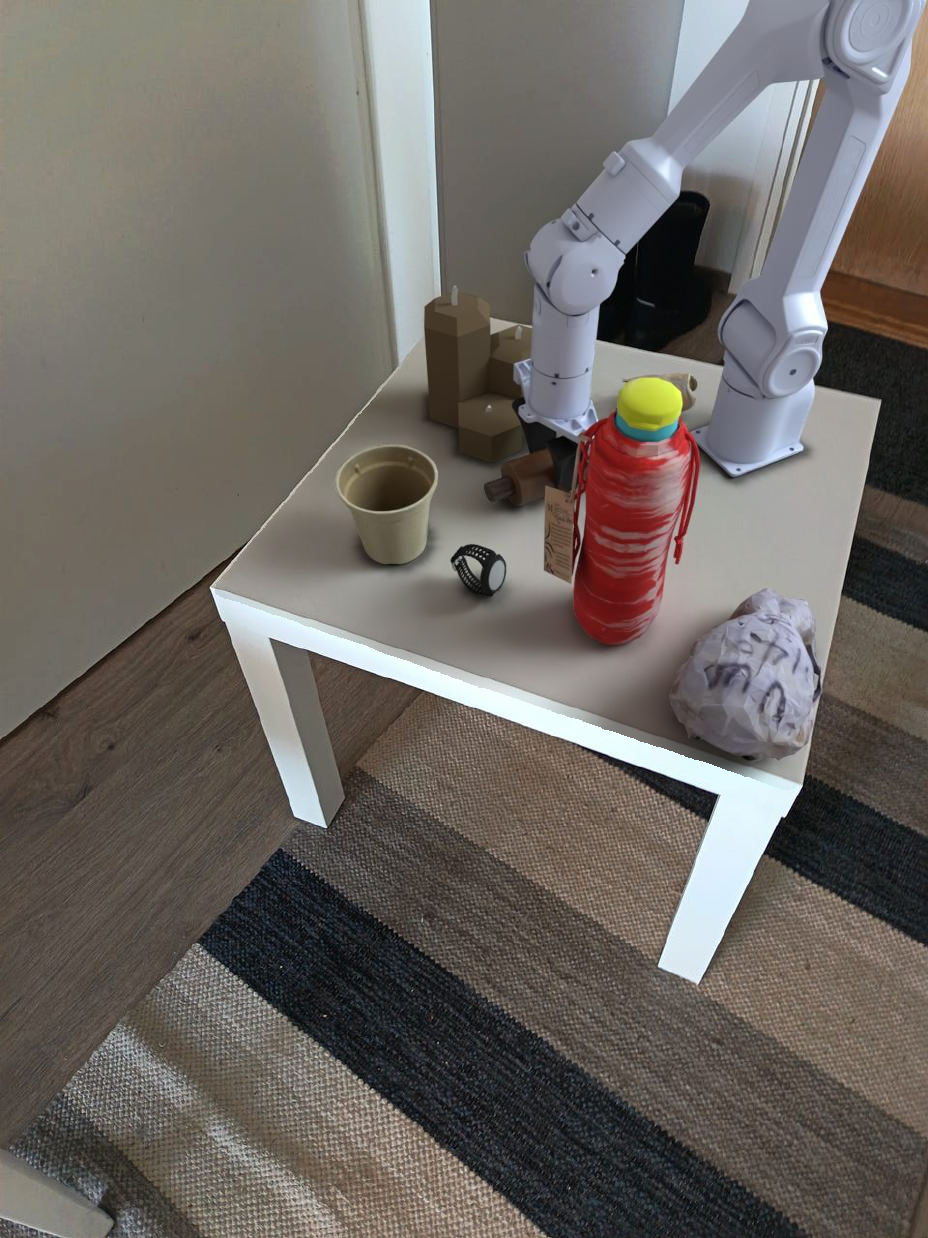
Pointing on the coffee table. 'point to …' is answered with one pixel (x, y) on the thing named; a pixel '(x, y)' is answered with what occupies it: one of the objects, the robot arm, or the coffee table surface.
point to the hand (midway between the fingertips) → (553, 474)
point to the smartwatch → (490, 573)
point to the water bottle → (624, 511)
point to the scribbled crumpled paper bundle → (752, 680)
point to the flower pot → (389, 499)
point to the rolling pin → (524, 479)
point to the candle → (474, 374)
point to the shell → (678, 386)
